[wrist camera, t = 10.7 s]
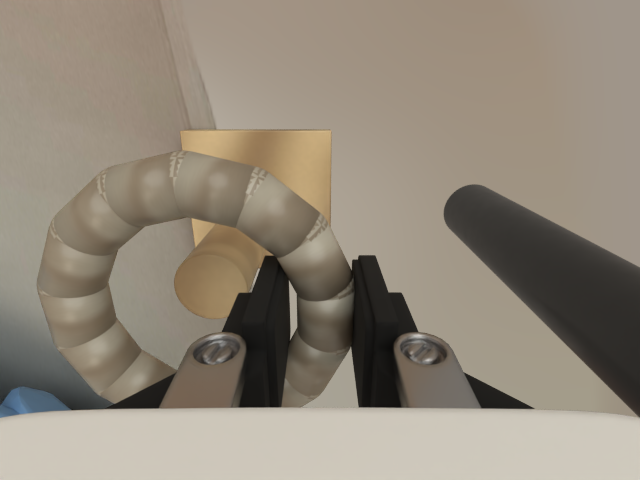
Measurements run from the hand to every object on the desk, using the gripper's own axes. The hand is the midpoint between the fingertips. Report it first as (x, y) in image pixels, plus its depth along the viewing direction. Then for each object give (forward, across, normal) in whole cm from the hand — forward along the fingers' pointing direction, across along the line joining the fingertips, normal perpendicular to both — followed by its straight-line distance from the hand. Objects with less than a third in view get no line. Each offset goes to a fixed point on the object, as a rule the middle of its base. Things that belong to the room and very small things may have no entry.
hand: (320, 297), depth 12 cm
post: (+13, +4, 0) cm, 13 cm away
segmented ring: (-1, +4, 0) cm, 4 cm away
